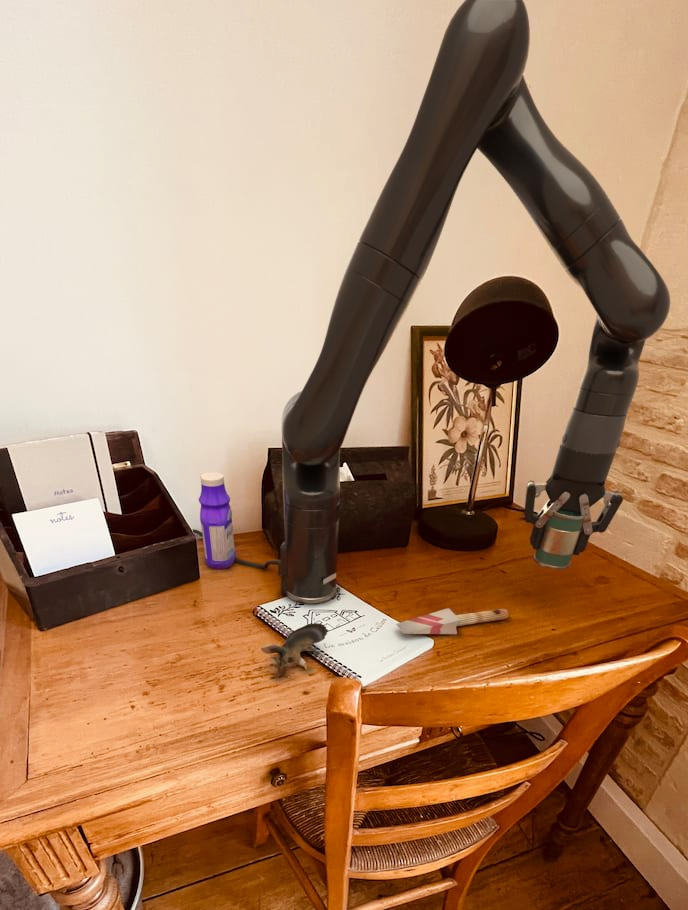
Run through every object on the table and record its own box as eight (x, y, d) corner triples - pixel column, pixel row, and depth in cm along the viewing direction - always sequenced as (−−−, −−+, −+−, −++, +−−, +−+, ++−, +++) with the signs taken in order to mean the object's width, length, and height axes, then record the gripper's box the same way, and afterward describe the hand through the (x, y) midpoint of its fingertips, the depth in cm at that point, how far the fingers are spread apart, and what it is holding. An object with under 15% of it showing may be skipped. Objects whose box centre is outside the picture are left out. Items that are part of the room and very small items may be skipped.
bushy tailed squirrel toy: (312, 684, 73) (339, 641, 78) (283, 646, 70) (313, 604, 75) (276, 689, 78) (303, 648, 83) (247, 654, 75) (277, 614, 80)
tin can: (533, 566, 85) (549, 513, 80) (532, 551, 89) (547, 500, 84) (571, 572, 84) (590, 518, 78) (568, 556, 88) (585, 505, 83)
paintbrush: (395, 614, 84) (501, 601, 90) (393, 628, 86) (496, 615, 92) (405, 627, 81) (514, 613, 87) (403, 641, 83) (509, 627, 89)
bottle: (232, 572, 100) (224, 482, 90) (202, 571, 100) (191, 481, 90) (238, 554, 106) (231, 469, 96) (210, 553, 106) (200, 468, 96)
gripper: (637, 442, 77) (598, 547, 87) (536, 432, 80) (509, 534, 90) (648, 457, 71) (605, 567, 81) (538, 445, 74) (509, 553, 84)
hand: (554, 549), depth 85 cm, fingers closed on tin can, 5 cm apart
